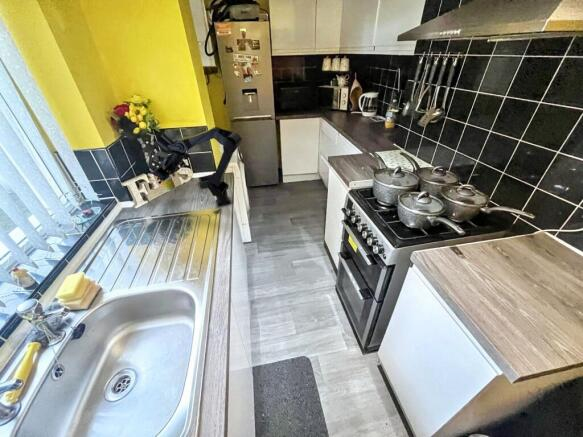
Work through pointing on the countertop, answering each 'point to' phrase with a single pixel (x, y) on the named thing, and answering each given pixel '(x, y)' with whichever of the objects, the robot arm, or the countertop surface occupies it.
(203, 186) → the pad socket
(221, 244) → the countertop surface
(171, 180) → the supplement bottle
